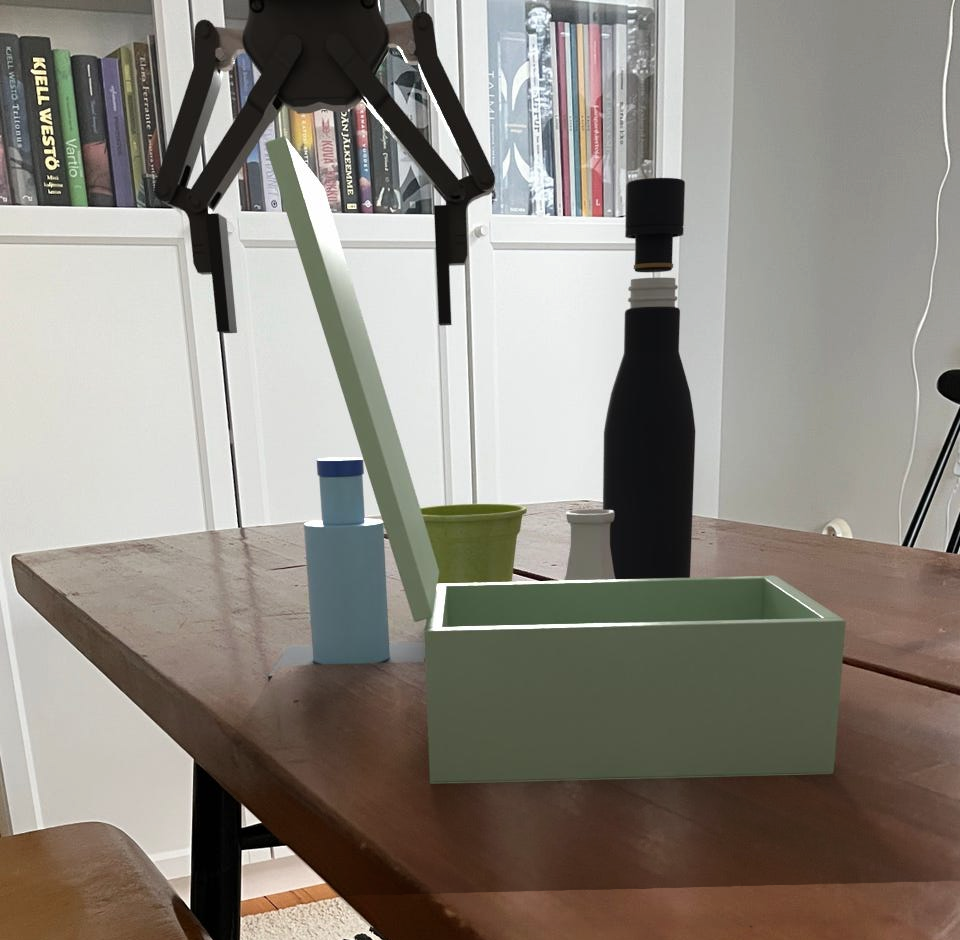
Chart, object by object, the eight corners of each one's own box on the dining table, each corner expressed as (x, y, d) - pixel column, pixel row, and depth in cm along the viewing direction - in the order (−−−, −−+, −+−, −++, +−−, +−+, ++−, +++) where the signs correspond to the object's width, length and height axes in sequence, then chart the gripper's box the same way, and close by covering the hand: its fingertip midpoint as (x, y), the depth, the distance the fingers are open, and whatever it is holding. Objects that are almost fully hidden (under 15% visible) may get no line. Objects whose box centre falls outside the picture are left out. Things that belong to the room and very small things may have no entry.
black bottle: (583, 635, 94) (586, 184, 83) (640, 624, 98) (650, 191, 87) (648, 647, 89) (660, 171, 79) (705, 634, 93) (724, 179, 83)
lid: (323, 185, 61) (306, 191, 62) (284, 135, 49) (264, 142, 49) (439, 572, 68) (424, 577, 68) (432, 617, 55) (414, 622, 55)
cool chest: (767, 715, 71) (775, 575, 68) (832, 789, 58) (846, 620, 55) (437, 723, 71) (432, 583, 68) (430, 799, 58) (423, 630, 56)
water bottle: (391, 649, 88) (382, 455, 84) (387, 665, 84) (377, 460, 79) (317, 651, 88) (304, 457, 84) (309, 667, 84) (294, 462, 79)
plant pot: (409, 633, 97) (405, 516, 94) (412, 611, 105) (407, 504, 102) (531, 629, 97) (530, 513, 94) (523, 608, 106) (522, 501, 103)
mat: (427, 648, 91) (427, 642, 91) (423, 679, 81) (422, 672, 81) (289, 652, 91) (288, 645, 91) (268, 683, 81) (267, 676, 81)
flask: (554, 652, 89) (554, 505, 85) (655, 657, 86) (659, 506, 83) (519, 674, 82) (518, 516, 79) (627, 680, 80) (630, 518, 76)
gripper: (68, -94, 68) (121, 333, 75) (532, -111, 68) (539, 318, 75) (106, -49, 75) (150, 337, 82) (526, -65, 75) (533, 323, 82)
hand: (336, 329), depth 79 cm, fingers open, 13 cm apart
